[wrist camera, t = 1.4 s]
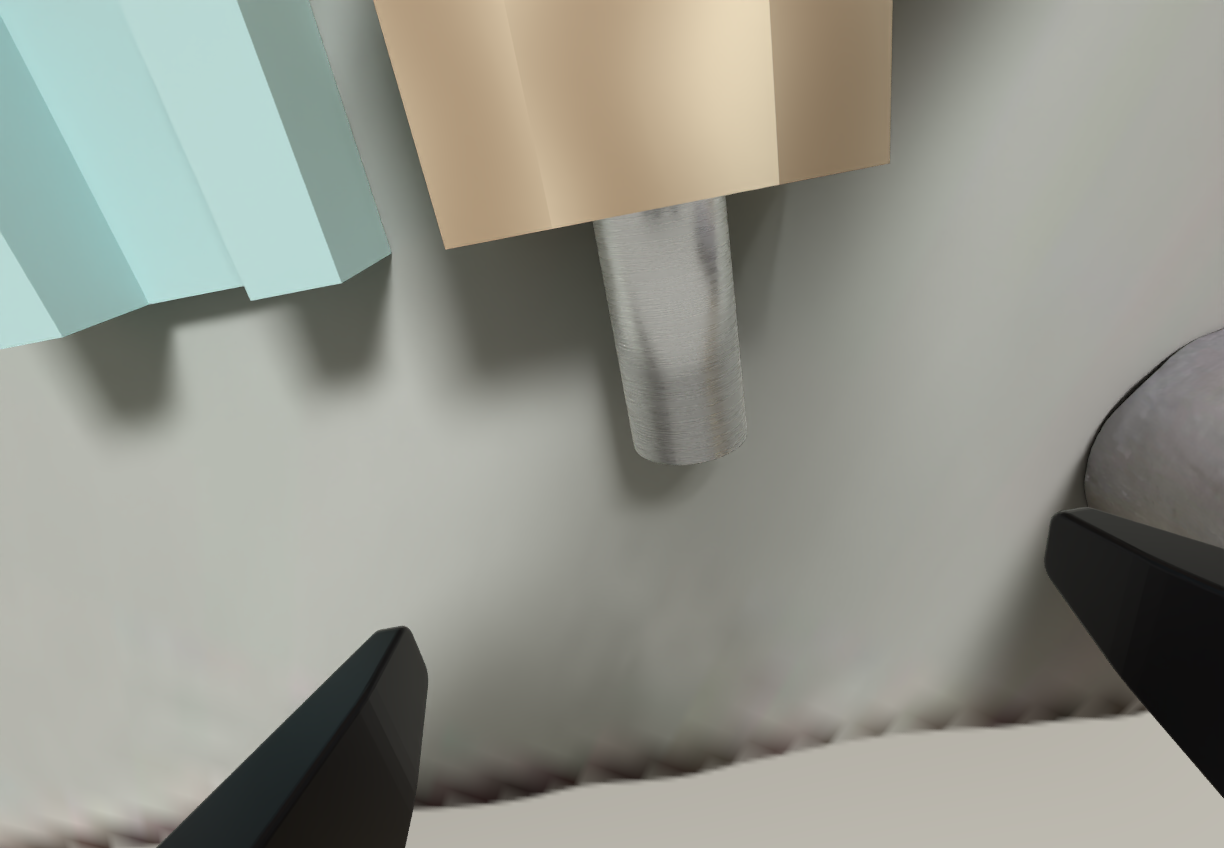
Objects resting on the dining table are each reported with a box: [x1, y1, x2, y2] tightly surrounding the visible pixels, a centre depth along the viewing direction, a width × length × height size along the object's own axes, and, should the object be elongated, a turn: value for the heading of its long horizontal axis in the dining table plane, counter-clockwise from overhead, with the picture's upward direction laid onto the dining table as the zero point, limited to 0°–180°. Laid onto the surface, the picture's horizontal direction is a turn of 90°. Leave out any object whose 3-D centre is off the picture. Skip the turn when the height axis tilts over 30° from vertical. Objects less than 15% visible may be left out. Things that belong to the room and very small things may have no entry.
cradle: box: [0, 0, 391, 349], centre depth 14 cm, size 9×8×4 cm
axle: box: [593, 195, 747, 465], centre depth 15 cm, size 16×3×3 cm, turn 10°
